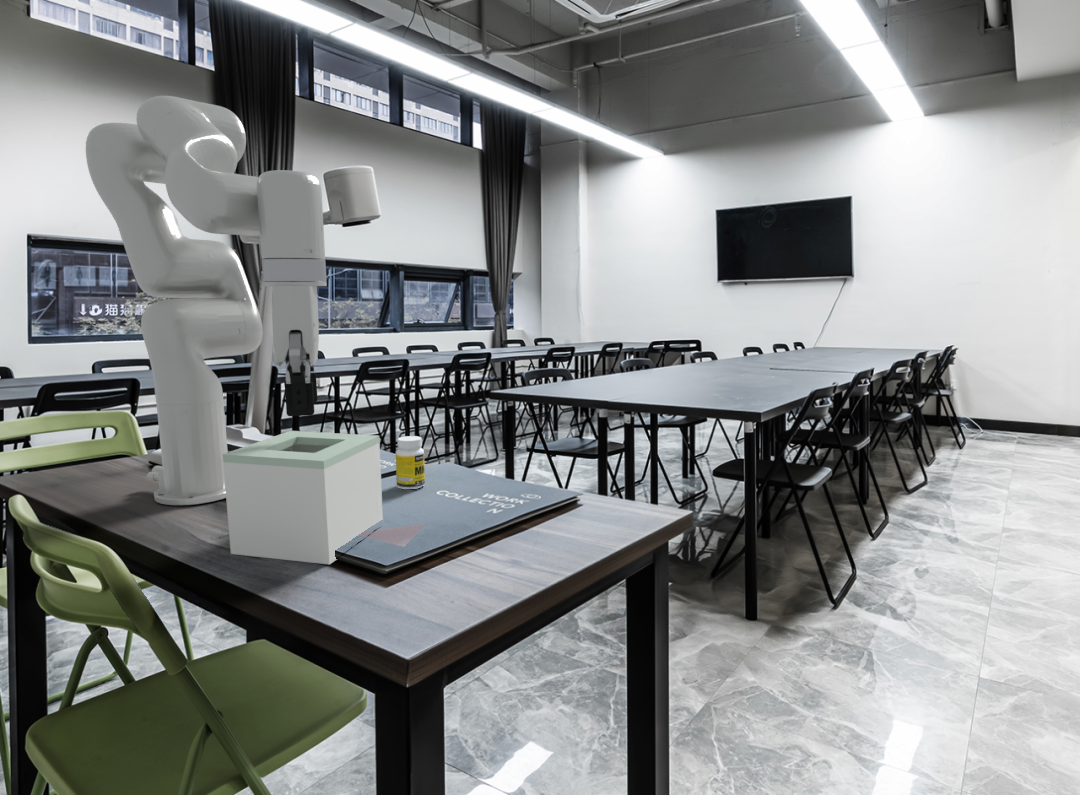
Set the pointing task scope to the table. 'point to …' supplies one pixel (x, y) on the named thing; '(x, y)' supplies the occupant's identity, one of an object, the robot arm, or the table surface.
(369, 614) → the table surface
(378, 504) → the box
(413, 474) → the supplement bottle
